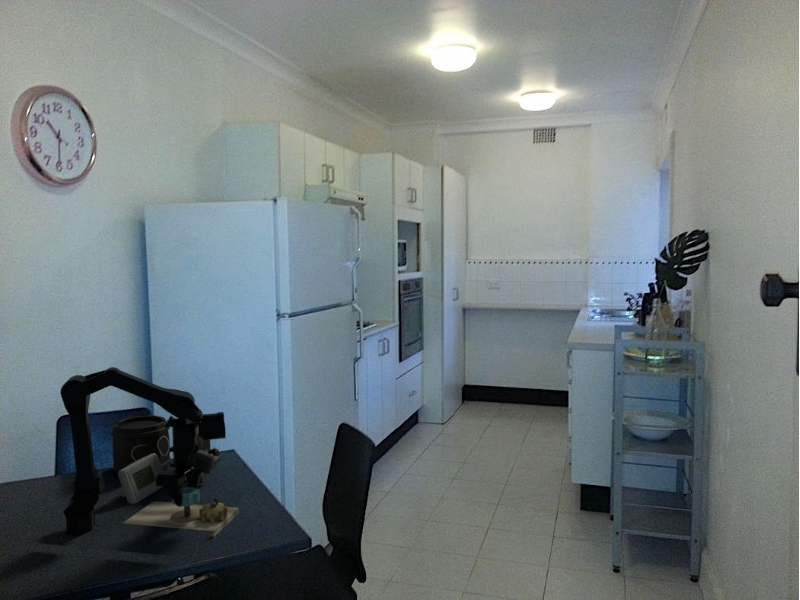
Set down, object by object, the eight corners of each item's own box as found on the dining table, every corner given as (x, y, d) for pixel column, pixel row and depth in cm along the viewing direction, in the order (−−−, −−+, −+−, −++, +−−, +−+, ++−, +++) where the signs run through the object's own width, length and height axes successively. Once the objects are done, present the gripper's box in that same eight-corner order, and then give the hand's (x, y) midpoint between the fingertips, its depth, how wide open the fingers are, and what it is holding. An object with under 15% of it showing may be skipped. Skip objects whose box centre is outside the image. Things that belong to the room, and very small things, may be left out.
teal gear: (192, 508, 162) (191, 497, 161) (167, 506, 163) (166, 495, 163) (205, 498, 168) (205, 487, 168) (181, 496, 170) (181, 485, 169)
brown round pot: (185, 465, 208) (183, 418, 207) (138, 483, 193) (135, 432, 191) (148, 456, 217) (146, 411, 216) (100, 473, 202) (98, 424, 200)
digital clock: (132, 510, 173) (130, 472, 172) (108, 505, 177) (106, 467, 176) (176, 489, 188) (175, 454, 187) (154, 484, 192) (152, 450, 191)
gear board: (213, 536, 157) (213, 513, 157) (122, 528, 162) (121, 505, 161) (238, 513, 171) (238, 491, 170) (154, 506, 176) (153, 485, 175)
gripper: (194, 455, 153) (197, 518, 155) (230, 432, 172) (231, 489, 173) (152, 452, 156) (155, 514, 157) (192, 430, 174) (193, 486, 175)
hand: (186, 500), depth 166 cm, fingers closed on teal gear, 7 cm apart
